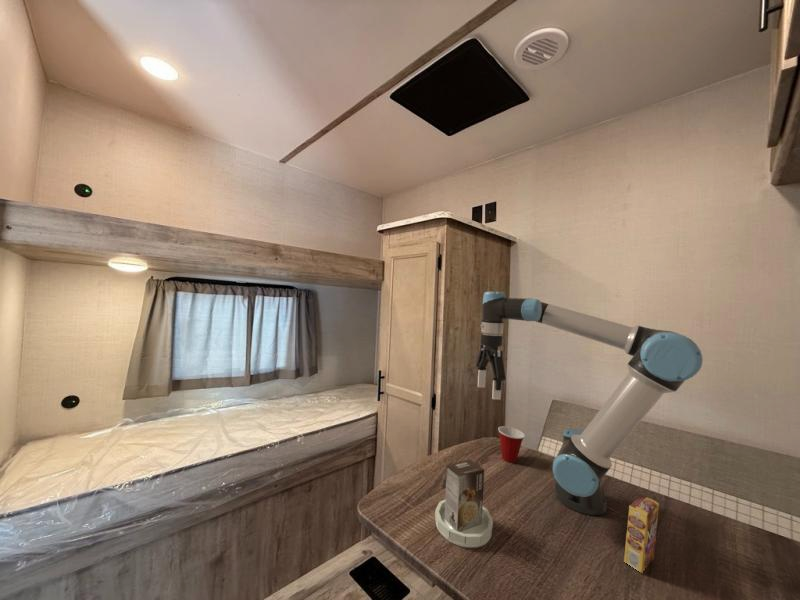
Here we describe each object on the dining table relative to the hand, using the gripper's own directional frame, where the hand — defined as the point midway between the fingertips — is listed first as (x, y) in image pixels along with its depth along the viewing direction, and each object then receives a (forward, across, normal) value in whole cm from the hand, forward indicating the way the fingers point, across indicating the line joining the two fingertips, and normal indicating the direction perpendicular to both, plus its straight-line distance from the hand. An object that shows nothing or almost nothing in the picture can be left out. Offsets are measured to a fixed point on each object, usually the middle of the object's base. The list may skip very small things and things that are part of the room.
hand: (488, 392), depth 109 cm
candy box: (+33, +34, +29) cm, 55 cm away
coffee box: (+32, +20, -14) cm, 40 cm away
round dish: (+33, +20, -14) cm, 41 cm away
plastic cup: (+33, -16, +18) cm, 41 cm away
